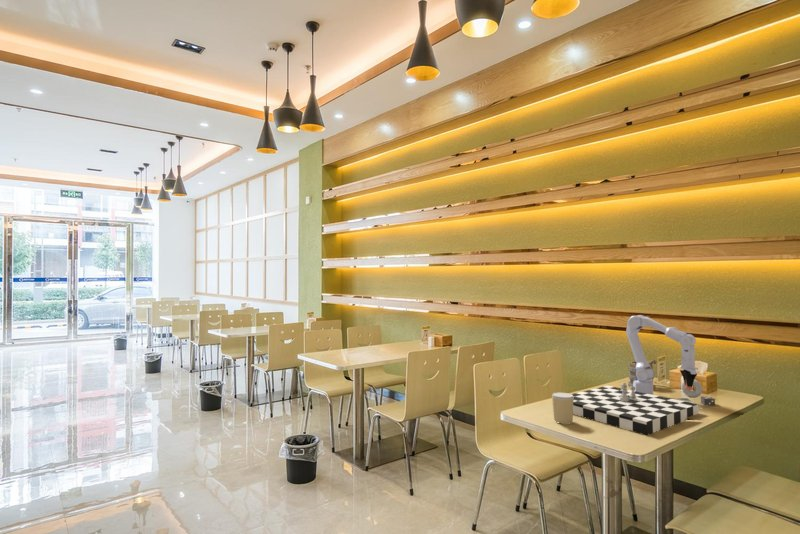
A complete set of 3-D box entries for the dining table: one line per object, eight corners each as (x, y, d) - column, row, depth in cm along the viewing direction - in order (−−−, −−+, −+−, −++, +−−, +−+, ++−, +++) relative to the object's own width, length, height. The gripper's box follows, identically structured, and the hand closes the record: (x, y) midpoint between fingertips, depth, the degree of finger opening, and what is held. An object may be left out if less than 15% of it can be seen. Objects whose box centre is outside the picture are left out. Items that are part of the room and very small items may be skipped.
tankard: (640, 389, 260) (640, 363, 260) (623, 384, 272) (622, 359, 272) (666, 386, 266) (666, 361, 267) (648, 382, 278) (648, 357, 279)
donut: (703, 398, 240) (703, 379, 240) (701, 399, 238) (701, 380, 238) (682, 395, 248) (682, 376, 248) (680, 396, 245) (680, 377, 246)
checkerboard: (646, 436, 185) (646, 400, 186) (555, 410, 223) (554, 380, 223) (698, 417, 210) (697, 385, 210) (608, 396, 248) (607, 369, 248)
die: (704, 407, 223) (704, 398, 223) (700, 405, 228) (700, 396, 228) (715, 408, 222) (714, 399, 222) (711, 405, 227) (710, 396, 227)
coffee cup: (578, 422, 202) (578, 395, 202) (564, 426, 197) (564, 398, 197) (562, 417, 210) (561, 391, 210) (547, 420, 205) (547, 393, 205)
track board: (689, 411, 218) (689, 408, 218) (674, 399, 238) (674, 397, 238) (706, 412, 216) (706, 409, 216) (689, 400, 236) (689, 398, 236)
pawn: (686, 389, 226) (685, 374, 227) (683, 388, 230) (683, 373, 230) (694, 390, 226) (693, 375, 226) (691, 388, 229) (691, 373, 229)
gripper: (702, 361, 220) (703, 389, 220) (691, 356, 234) (692, 382, 234) (686, 361, 222) (686, 388, 222) (676, 356, 236) (677, 382, 236)
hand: (688, 385), depth 228 cm, fingers closed on pawn, 3 cm apart
